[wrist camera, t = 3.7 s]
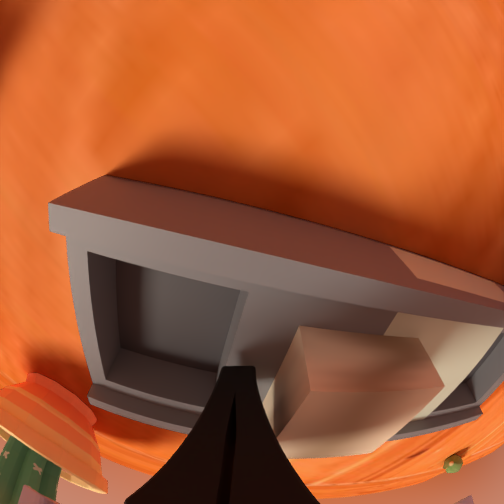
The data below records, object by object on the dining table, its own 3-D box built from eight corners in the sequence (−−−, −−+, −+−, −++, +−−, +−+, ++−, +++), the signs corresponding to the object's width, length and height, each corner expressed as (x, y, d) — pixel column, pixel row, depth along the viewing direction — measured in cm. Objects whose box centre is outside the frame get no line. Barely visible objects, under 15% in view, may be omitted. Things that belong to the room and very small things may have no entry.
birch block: (418, 337, 10) (444, 385, 8) (360, 410, 13) (371, 452, 10) (299, 325, 10) (310, 390, 7) (260, 407, 12) (260, 457, 10)
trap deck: (531, 297, 14) (555, 323, 10) (462, 391, 19) (476, 419, 15) (104, 174, 10) (48, 202, 7) (111, 358, 16) (90, 404, 12)
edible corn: (466, 462, 29) (450, 476, 29) (464, 466, 36) (452, 478, 36) (454, 449, 34) (438, 463, 34) (455, 456, 41) (443, 467, 41)
